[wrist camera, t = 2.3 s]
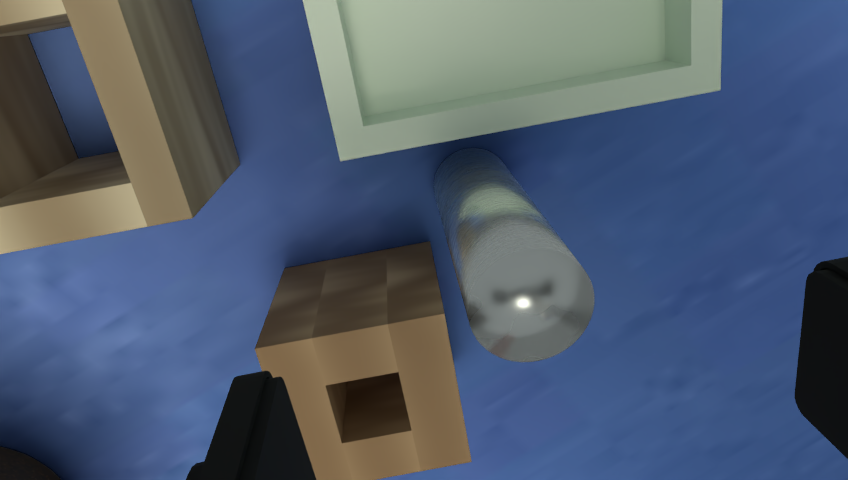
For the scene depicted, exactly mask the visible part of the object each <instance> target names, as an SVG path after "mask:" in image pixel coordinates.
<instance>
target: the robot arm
mask: <svg viewBox="0 0 848 480" xmlns="http://www.w3.org/2000/svg"><path fill="white" fill-rule="evenodd" d="M795 400H796V404H797V406H798V408H799V410H800V412H801V413H802V414H803V416H804V417H805V418H806V419H807V420H808V421H809V422H810V423H811V424H812V425H813V426H814V427H815V428H816V429H818V430H819V431H820V432H821V433H822V434H823V435H824V436H825V437H826V438H827V439H828V440H829V441H830V442H831V443H832V444H833V445H834V446H835V447H836V448H837V449H838V450H839V451H840V452H841V453H842V454H843V455H844V456H845V457H846V458H847V459H848V257H844V258H839V259H834V260H829V261H824V262H820V263H819V264H817V265H816V267H815V268H814V271H813V272H812V273H810V274H809V275H808V277H807V280H806V288H805V298H804V308H803V317H802V327H801V337H800V347H799V357H798V367H797V377H796V387H795ZM186 480H316V477H315V474H314V471H313V467H312V464H311V461H310V458H309V455H308V452H307V449H306V446H305V443H304V440H303V437H302V434H301V431H300V428H299V425H298V422H297V418H296V415H295V412H294V409H293V406H292V403H291V400H290V397H289V394H288V391H287V388H286V385H285V382H284V380H283V378H282V377H275V378H273V377H272V375H271V373H270V372H269V371H262V372H257V373H252V374H247V375H241V376H237V377H235V378H234V379H233V381H232V384H231V387H230V390H229V393H228V396H227V399H226V401H225V404H224V407H223V410H222V413H221V416H220V419H219V422H218V424H217V427H216V430H215V433H214V436H213V439H212V442H211V444H210V447H209V450H208V453H207V456H206V459H205V462H200V463H196V464H195V465H194V466H193V467H192V468H191V470H190V472H189V474H188V476H187V478H186Z"/></svg>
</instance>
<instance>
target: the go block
mask: <svg viewBox="0 0 848 480" xmlns="http://www.w3.org/2000/svg"><path fill="white" fill-rule="evenodd" d="M69 26H72V29H73V31H74V34H75V37H76V39H77V42H78V45H79V47H80V50H81V53H82V55H83V58H84V60H85V63H86V66H87V68H88V71H89V74H90V76H91V79H92V81H93V84H94V87H95V89H96V92H97V95H98V97H99V100H100V103H101V105H102V108H103V110H104V113H105V116H106V118H107V121H108V124H109V126H110V129H111V132H112V134H113V137H114V139H115V142H116V145H117V147H118V150H119V151H117V152H112V153H106V154H101V155H96V156H90V157H85V158H80V159H78V157H77V155H76V152H75V150H74V147H73V145H72V142H71V140H70V137H69V135H68V133H67V130H66V128H65V125H64V123H63V120H62V118H61V115H60V113H59V111H58V108H57V106H56V103H55V101H54V98H53V96H52V93H51V91H50V89H49V86H48V84H47V81H46V79H45V76H44V74H43V71H42V69H41V67H40V64H39V62H38V59H37V57H36V54H35V52H34V49H33V47H32V45H31V42H30V40H29V37H28V35H27V34H32V33H37V32H42V31H48V30H53V29H58V28H64V27H69ZM239 165H240V161H239V158H238V155H237V152H236V148H235V145H234V142H233V138H232V135H231V132H230V128H229V125H228V122H227V118H226V115H225V112H224V108H223V105H222V102H221V98H220V95H219V92H218V89H217V85H216V82H215V79H214V75H213V72H212V69H211V65H210V62H209V59H208V55H207V52H206V49H205V45H204V42H203V39H202V35H201V32H200V29H199V25H198V22H197V19H196V16H195V12H194V9H193V6H192V2H191V0H0V254H3V253H9V252H14V251H19V250H25V249H30V248H35V247H41V246H46V245H51V244H57V243H62V242H68V241H73V240H78V239H84V238H89V237H94V236H100V235H105V234H110V233H116V232H121V231H127V230H132V229H137V228H143V227H148V226H153V225H159V224H164V223H169V222H175V221H180V220H186V219H191V218H193V217H194V216H195V215H196V214H197V213H198V212H199V211H200V209H201V208H202V207H203V206H204V205H205V204H206V203H207V201H208V200H209V199H210V198H211V197H212V196H213V195H214V194H215V192H216V191H217V190H218V189H219V188H220V187H221V186H222V184H223V183H224V182H225V181H226V180H227V179H228V178H229V177H230V175H231V174H232V173H233V172H234V171H235V170H236V169H237V167H238V166H239Z"/></svg>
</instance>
